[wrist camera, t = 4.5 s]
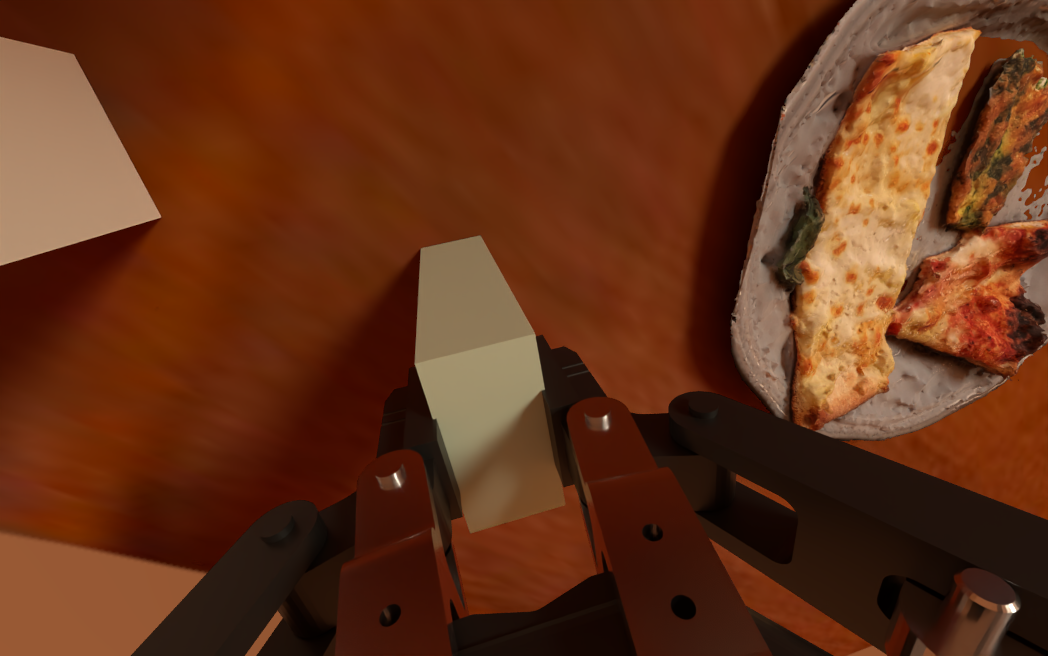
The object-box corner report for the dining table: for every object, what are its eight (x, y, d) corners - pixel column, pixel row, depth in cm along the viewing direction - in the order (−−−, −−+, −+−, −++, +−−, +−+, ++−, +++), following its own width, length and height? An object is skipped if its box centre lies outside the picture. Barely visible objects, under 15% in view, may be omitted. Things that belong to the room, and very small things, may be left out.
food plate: (985, 406, 30) (1052, 437, 26) (679, 443, 25) (714, 485, 22) (1211, -48, 20) (1359, -86, 17) (782, -114, 16) (872, -181, 13)
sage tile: (480, 235, 18) (534, 333, 9) (503, 340, 20) (565, 504, 11) (420, 248, 17) (414, 364, 8) (450, 353, 20) (470, 533, 11)
